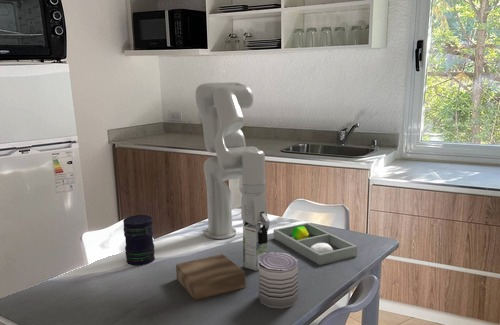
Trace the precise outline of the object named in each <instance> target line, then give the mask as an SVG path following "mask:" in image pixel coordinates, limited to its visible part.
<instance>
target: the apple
mask: <svg viewBox="0 0 500 325" xmlns="http://www.w3.org/2000/svg"><path fill="white" fill-rule="evenodd" d="M291 236H292V238H293V239H295V240H301V239H306V238H310V233H308V232H307V230H306V228H305V227H304V226H301V227H296V228H294V229H293V232H292V235H291Z"/></svg>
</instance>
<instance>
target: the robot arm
mask: <svg viewBox="0 0 500 325" xmlns="http://www.w3.org/2000/svg"><path fill="white" fill-rule="evenodd" d="M195 103H196V106H197V109H198V111H199V115H200V117H201V120H202V122H201V123H202V130H203V137H204V138H203V139H204V147H205V150H206V151H207V152H208V153H210V154H215V155H216V156H212V157H209V158H207V159H206V160H205V161H204V163H203V174H204V179H205V186H206V197H207V198H206V199H207V200H206V201H207V203H206V204H207V227H208V228H207V229H205V231H204V236H205V237H206V238H208V239H214V240H224V239H230V238H232V237H235V235H236V234H237V230H236V229H235V228H234V227H233V216H232V215H233V213H232V210H233V208H232V191H231V188H230V187H229V185H228V184H226V182H225V181H229V180H239V179H241V185H242V186H241V187H242V193H241V206H240V208H241V210H240V214H241V217H240V218H241V219H242V224H243V226H245V225H247V224H251V225H253V226H256V225H257V227H258V230H259V232H258V244H265V243H267V244H268V239H269V238H268V231H269V228H270V223H271V222H270V221H271V220H270V219H269V218H268V207H267V205H268V204H267V197H266V193H267V190H266V187H267V185H266V183H267V182H266V153H265V152H264V151H263V150H261V149H258V147H256V146H246V145H247V144H246V138H245V135H244V132H243V131H242V128H243V127H244V126H245V123H246V120H245V116H244V113H243V111H242V109H250V108H251V107H252V106H253V103H254V94H253V92H252V90H251V88H250V87H249V86H248V85H245V84H243V83H240V82H233V81H231V82H230V81H229V82H207V83H202V84H200V85H198V86H196V89H195ZM260 225H263V226H262V228H261V226H260Z"/></svg>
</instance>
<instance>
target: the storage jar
mask: <svg viewBox="0 0 500 325" xmlns="http://www.w3.org/2000/svg"><path fill="white" fill-rule="evenodd" d="M122 222H123V235H124V238H125V247H124V250H125V251H124V252H125V254H124V255H125V259H126V264H127V265H128V266H134V267H140V266H146V265H148V264H151V263H153V262H154V261H155V259H156V258H155V243H154V238H153V235H154V224H153V216H151V215H147V214H136V215H135V214H134V215H131V216H128V217H125V218H124V219H123V220H122Z"/></svg>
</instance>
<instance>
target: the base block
mask: <svg viewBox="0 0 500 325" xmlns="http://www.w3.org/2000/svg"><path fill="white" fill-rule="evenodd" d="M175 270H176V271H175V272H176V280H177V281H178V282H179V283H180V285H181V286H182V287H183V288H184V289H185V290H186V291H187V293H188V294H189V295H190V296H191V297H192V298H193V300H194V301H198V300H202V299H206V298H209V297H213V296H218V295H221V294H226V293H229V292H233V291H236V290H240V289H245V288H246V272H245V271H244V270H243V269H242V268H241V267H239V265H237V264H236V263H234V262H233V261H232V260H231V259H229V258H228V257H227V256H226V255H224V253H223V254H222V253H221V254H218V255H212V256H208V257H207V256H206V257H204V258H198V259H194V260H189V261H185V262H180V263H179V262H178V263H176V264H175Z"/></svg>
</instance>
